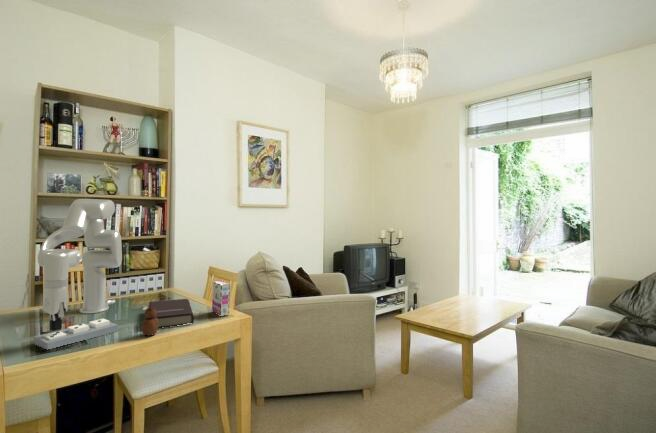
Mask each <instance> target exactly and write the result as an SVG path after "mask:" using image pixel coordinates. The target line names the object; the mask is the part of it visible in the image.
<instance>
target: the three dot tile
mask: <svg viewBox="0 0 656 433" xmlns="http://www.w3.org/2000/svg"><path fill="white" fill-rule="evenodd" d="M58 331H59V330H58ZM54 332H55V331H54ZM50 333H51V332H50ZM46 334H47V333H46ZM42 335H43V334H42ZM66 335H67V334H65V333H63V332H61V331H59V332H55V333H51V334H47V335H43V338H44V339H46V340H48V341H49V340H53V339H57V338H61V337H64V336H66Z"/></svg>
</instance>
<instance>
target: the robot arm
mask: <svg viewBox="0 0 656 433" xmlns="http://www.w3.org/2000/svg"><path fill="white" fill-rule="evenodd" d="M115 210H116V205H115V202H114V201H112V200H111V199H104V198H103V199H99V198H95V199H94V198H78V199H77V198H76V199H75V200H73V202H72V203H71V204H70V206H69V208H68V211H67V213H66V217H65V219H64V222H63V224H62V226H61V227H60V228H59V229H57V230H55V231H54V232H52V233H51V234H50V235H48V236H47V237H45V239H44V240H43V241H42V244H41V246H40V247H39V248H40V250H39V251H38V255H37V264H38V265H39V266H40V267H42V268H43V296H42V298H43V299H42V311H43V312H45V313H47V314H49V329H50V331H52V332H55V331H59V330H62V327H63V326H62V323H63V318H64V316H65V313H66V312H67V311H68V307H69V306H68V305H69V304H68V290H67V287H69V268H74V267H77V266H79V265H80V263H81V262H82V268H83V301H82V302H83V306H82V307H81V308H80V309H79V313H80V314H97V313H102V312H106V311H108V310H109V308H110V306H109V305H112V304H116V299H111V300H110V299H106V295H107V292H106V291H107V290H106V289H107V288H106V286H107V276H106V273H105V272H104V271H103V270H102V269H115V268H118V267H120V266H121V265H122V261H123V252H122V251H123V250H122V247H123V246H122V236H121V232H119V231H118V230H116V229H115V230H114V229H105V225H104V220H106V219H108V218H110V217H112V216H114V213H115ZM82 236H84V238H83V239H84V245H85V246H86V247H87V248H89V249H91V250H88V251H85V252H83V253H82V252H81V251H80V250H79V249H76V248H75V249H73V248H56V247H57V246H59V245H61V244H63V243H65V242H68V241H72V240H74V239H78V238H79V237H82Z"/></svg>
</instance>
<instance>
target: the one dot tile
mask: <svg viewBox="0 0 656 433" xmlns="http://www.w3.org/2000/svg"><path fill="white" fill-rule="evenodd" d="M110 322H111V321H110V320H109V319H106V318H99V319H95V320H91V321H89V322H88V323H89V326H90V327H93V328H99V327H103V326H107V325H110Z"/></svg>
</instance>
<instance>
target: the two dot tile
mask: <svg viewBox="0 0 656 433" xmlns="http://www.w3.org/2000/svg"><path fill="white" fill-rule="evenodd" d="M86 324H87V323H78V324H75V325H71V326H70V325H69V326H67V328H68V330H67V332H69V333H71V334H76V333H80V332H84V331H88V330H89V326H88V325H86Z"/></svg>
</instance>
